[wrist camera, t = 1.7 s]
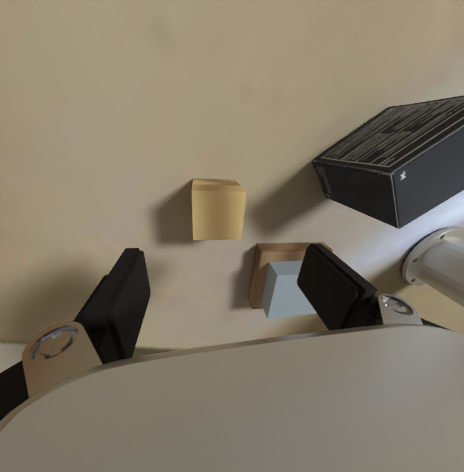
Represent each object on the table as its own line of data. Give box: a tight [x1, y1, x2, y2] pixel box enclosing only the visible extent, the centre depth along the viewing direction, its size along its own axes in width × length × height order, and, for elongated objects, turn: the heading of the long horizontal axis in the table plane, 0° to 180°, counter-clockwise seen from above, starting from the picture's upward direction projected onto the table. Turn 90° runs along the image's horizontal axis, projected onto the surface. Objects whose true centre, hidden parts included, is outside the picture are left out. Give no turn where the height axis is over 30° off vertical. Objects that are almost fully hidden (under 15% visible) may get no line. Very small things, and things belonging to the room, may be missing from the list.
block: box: [192, 178, 247, 240], centre depth 20 cm, size 5×5×6 cm
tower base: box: [249, 242, 333, 309], centre depth 30 cm, size 11×11×3 cm
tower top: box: [261, 261, 317, 319], centre depth 27 cm, size 8×8×3 cm
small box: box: [313, 96, 464, 229], centre depth 19 cm, size 11×6×10 cm, turn 124°
